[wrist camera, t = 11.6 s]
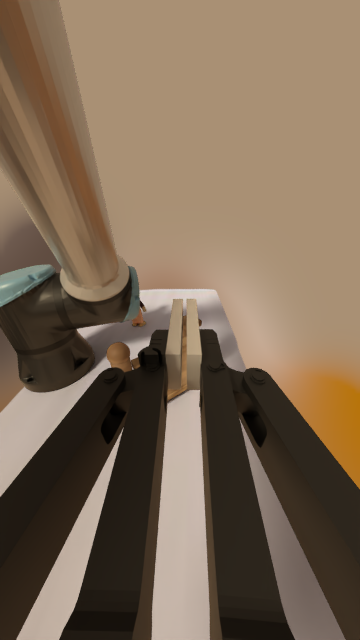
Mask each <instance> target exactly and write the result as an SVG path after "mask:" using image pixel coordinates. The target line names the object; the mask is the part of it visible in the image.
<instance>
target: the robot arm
mask: <svg viewBox="0 0 360 640" xmlns="http://www.w3.org/2000/svg"><path fill="white" fill-rule="evenodd" d="M0 169H1V171H2V173H3V174H4V176H5V177H6V179H7V181H8V182H9V184H10V185H11V187H12V189H13V190H14V192H15V193H16V195H17V197H18V198H19V200H20V201H21V203H22V205H23V206H24V208H25V209H26V211H27V212H28V214H29V216H30V217H31V219H32V220H33V222H34V224H35V225H36V227H37V228H38V230H39V231H40V233H41V235H42V236H43V238H44V240H45V241H46V243H47V244H48V246H49V248H50V249H51V251H52V252H53V254H54V255H55V257H56V259H57V260H58V262H59V264H60V265H61V267H62V269H61V273H56V270H55V269H54V268H53V266H51V265H38V266H33V267H28V268H24V269H20V270H16V271H13V272H9V273H6V274H3V275H0V328H1V329H2V331H3V333H4V334H5V336H6V337H7V339H8V340H9V342H10V344H11V345H12V347H13V348H14V350H15V351H16V353H17V358H18V370H19V378H20V380H21V381H22V383H23V385H24V386H25V387H26V388H27V389H28V390H30V391H33V392H49V391H54V390H57V389H60V388H63V387H65V386H68V385H70V384H72V383H73V382H75V381H77V380H78V379H80V378H81V377H82V376H83V375H85V374H86V373H87V372H88V371H89V369H90V368H91V367H92V365H93V363H94V359H95V356H94V352H93V350H92V347H91V346H90V345H89V343H88V342H87V341H86V340H85V339H84V338H83V337H82V336H81V335H80V334H79V333H78V331H77V329H78V328H84V327H90V326H97V325H103V324H109V323H116V322H125V321H127V320H132V319H135V318H136V317H137V316H138V314H139V310H140V298H139V283H138V277H137V273H136V270H135V268H134V267H130V266H127V264H126V262H125V261H124V259H123V258H121V257H120V256H119V255H117V253H116V248H115V244H114V240H113V235H112V231H111V227H110V222H109V218H108V213H107V209H106V204H105V200H104V196H103V192H102V187H101V182H100V178H99V174H98V169H97V165H96V161H95V156H94V152H93V147H92V143H91V139H90V134H89V130H88V125H87V121H86V117H85V113H84V108H83V104H82V99H81V95H80V90H79V86H78V82H77V77H76V73H75V69H74V64H73V60H72V55H71V51H70V47H69V42H68V38H67V33H66V29H65V25H64V20H63V16H62V12H61V7H60V3H59V0H0ZM182 344H183V299H173V305H172V312H171V319H170V326H169V330H156V331H155V332H154V333H153V334H152V337H151V340H150V345H149V347H146V348H143V349H142V350H141V351H140V352H139V353H138V359H139V364H140V367H139V368H137V369H134V370H131V371H127V372H124V371H123V370H122V369H120V368H118V367H112V368H108V369H106V370H104V371H103V372H102V373H100V374H99V375H98V377H97V378H96V379H95V380H94V382H93V383H92V384H91V385H90V387H89V388H88V389H87V390H86V392H85V393H84V394H83V395H82V397H81V398H80V399H79V400H78V402H77V403H76V404H75V405H74V406H73V408H72V409H71V410H70V411H69V413H68V414H67V415H66V416H65V418H64V419H63V420H62V421H61V423H60V424H59V425H58V426H57V428H56V429H55V430H54V431H53V432H52V434H51V435H50V436H49V437H48V439H47V440H46V441H45V442H44V444H43V445H42V446H41V447H40V449H39V450H38V451H37V452H36V454H35V455H34V456H33V457H32V459H31V460H30V461H29V462H28V463H27V465H26V466H25V467H24V468H23V470H22V471H21V472H20V473H19V475H18V476H17V477H16V478H15V480H14V481H13V482H12V483H11V485H10V486H9V487H8V488H7V489H6V491H5V492H4V493H3V494H2V496H1V497H0V640H16V639H17V637H18V635H19V633H20V631H21V629H22V627H23V625H24V623H25V621H26V619H27V617H28V615H29V613H30V611H31V609H32V607H33V605H34V603H35V601H36V599H37V597H38V595H39V593H40V591H41V589H42V587H43V585H44V583H45V581H46V579H47V577H48V575H49V573H50V571H51V569H52V567H53V566H54V564H55V562H56V560H57V558H58V556H59V554H60V552H61V550H62V548H63V546H64V544H65V542H66V540H67V538H68V536H69V534H70V532H71V530H72V528H73V526H74V524H75V522H76V520H77V518H78V516H79V514H80V512H81V510H82V508H83V506H84V504H85V502H86V500H87V498H88V496H89V494H90V492H91V490H92V488H93V486H94V484H95V482H96V480H97V478H98V476H99V474H100V473H101V471H102V469H103V467H104V465H105V463H106V461H107V459H108V457H109V455H110V453H111V451H112V449H113V447H114V445H115V443H116V441H117V439H118V437H119V435H120V433H121V431H122V429H123V427H124V429H123V432H122V436H121V440H120V444H119V447H118V451H117V455H116V459H115V462H114V466H113V470H112V474H111V477H110V481H109V485H108V489H107V492H106V496H105V500H104V504H103V507H102V511H101V515H100V519H99V523H98V526H97V530H96V534H95V538H94V541H93V545H92V549H91V553H90V556H89V560H88V564H87V568H86V571H85V575H84V579H83V583H82V586H81V590H80V593H79V597H78V600H77V603H76V605H75V608H74V611H73V612H72V614H71V616H70V618H69V620H68V622H67V624H66V626H65V628H64V629H63V632H62V634H61V637H60V639H59V640H151V637H152V601H153V587H154V574H155V561H156V548H157V534H158V521H159V508H160V495H161V482H162V468H163V455H164V442H165V429H166V416H167V402H168V394H167V391H168V389H173V390H181V378H182ZM187 390H200V404H199V407H200V412H201V433H202V454H203V476H204V497H205V518H206V539H207V561H208V582H209V603H210V640H295V639H294V637H293V634H292V632H291V630H290V628H289V625H288V623H287V620H286V617H285V614H284V610H283V607H282V603H281V599H280V594H279V590H278V586H277V581H276V577H275V573H274V568H273V564H272V559H271V555H270V551H269V546H268V542H267V538H266V533H265V529H264V524H263V520H262V516H261V511H260V507H259V503H258V498H257V494H256V490H255V485H254V481H253V476H252V472H251V468H250V463H249V459H248V455H247V450H246V446H245V442H244V437H243V433H242V428H241V424H240V420H241V422H242V424H243V426H244V428H245V430H246V433H247V435H248V437H249V439H250V441H251V443H252V445H253V447H254V449H255V451H256V453H257V455H258V458H259V460H260V462H261V464H262V466H263V468H264V470H265V472H266V474H267V476H268V478H269V480H270V483H271V485H272V487H273V489H274V491H275V493H276V495H277V497H278V499H279V501H280V503H281V505H282V508H283V510H284V512H285V514H286V516H287V518H288V520H289V522H290V524H291V526H292V528H293V530H294V533H295V535H296V537H297V539H298V541H299V543H300V545H301V547H302V549H303V551H304V553H305V555H306V558H307V560H308V562H309V564H310V566H311V568H312V570H313V572H314V574H315V576H316V578H317V580H318V583H319V585H320V587H321V589H322V591H323V593H324V595H325V597H326V599H327V601H328V603H329V605H330V608H331V610H332V612H333V614H334V616H335V618H336V620H337V622H338V624H339V626H340V628H341V630H342V633H343V635H344V637H345V639H346V640H360V489H359V488H358V487H357V486H356V484H355V483H354V482H353V481H352V479H351V478H350V477H349V476H348V474H347V473H346V472H345V470H344V469H343V468H342V467H341V465H340V464H339V463H338V461H337V460H336V459H335V458H334V456H333V455H332V454H331V453H330V451H329V450H328V449H327V448H326V446H325V445H324V444H323V442H322V441H321V440H320V439H319V437H318V436H317V435H316V434H315V432H314V431H313V430H312V428H311V427H310V426H309V424H308V423H307V422H306V421H305V420H304V418H303V417H302V416H301V414H300V413H299V412H298V410H297V409H296V408H295V407H294V405H293V404H292V403H291V402H290V400H289V399H288V398H287V397H286V395H285V394H284V393H283V391H282V390H281V389H280V388H279V386H278V385H277V384H276V382H275V381H274V380H273V379H272V378H271V376H270V375H269V374H268V373H267V372H265V371H263V370H262V369H258V368H249V369H247V370H246V371H245V372H244V373H243V372H240V371H236V370H233V369H231V368H229V367H228V366H227V365H226V363H225V362H224V361H223V358H222V354H221V350H220V346H219V342H218V337H217V334H216V333H215V332H214V330H213V329H199V323H198V313H197V303H196V299H187ZM239 418H240V420H239Z"/></svg>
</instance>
